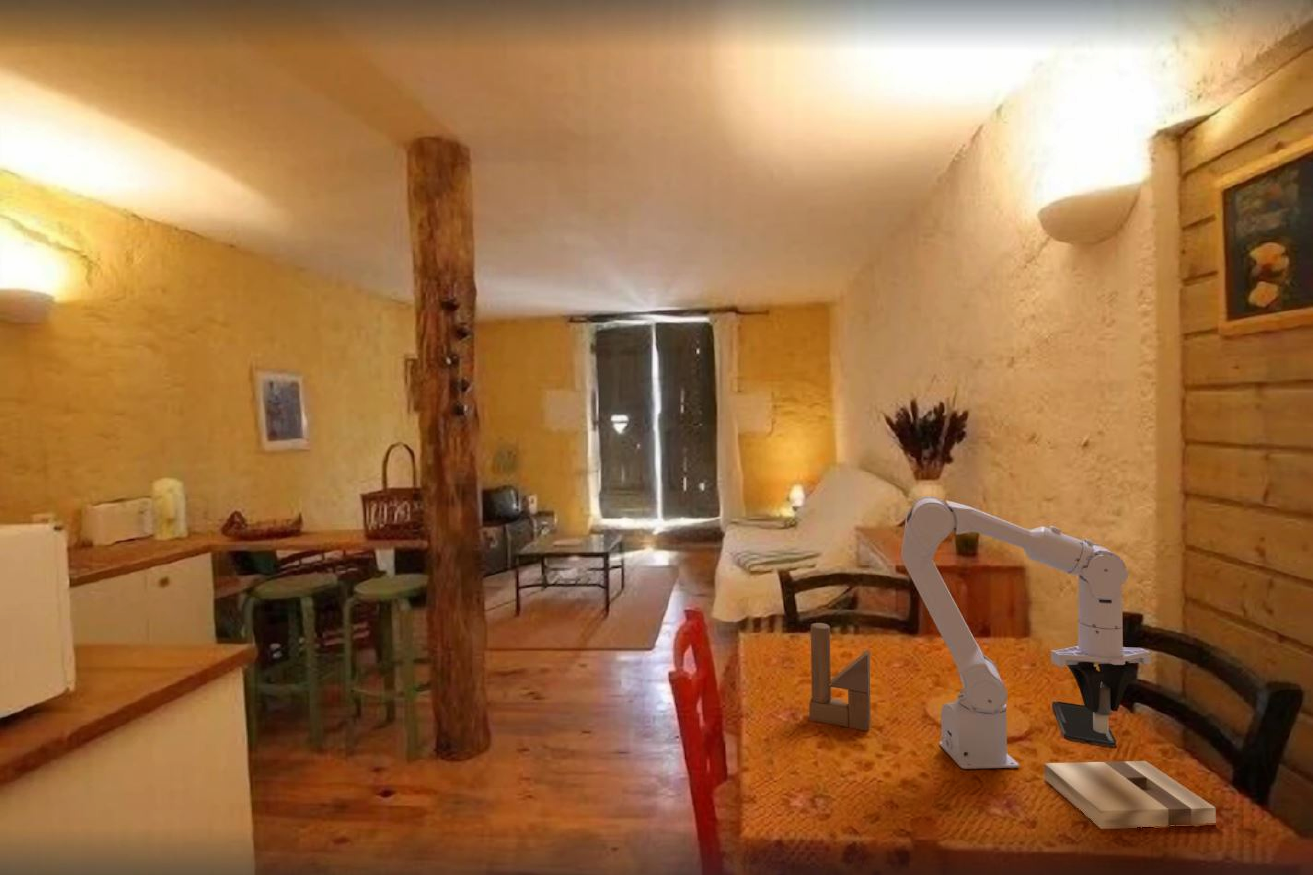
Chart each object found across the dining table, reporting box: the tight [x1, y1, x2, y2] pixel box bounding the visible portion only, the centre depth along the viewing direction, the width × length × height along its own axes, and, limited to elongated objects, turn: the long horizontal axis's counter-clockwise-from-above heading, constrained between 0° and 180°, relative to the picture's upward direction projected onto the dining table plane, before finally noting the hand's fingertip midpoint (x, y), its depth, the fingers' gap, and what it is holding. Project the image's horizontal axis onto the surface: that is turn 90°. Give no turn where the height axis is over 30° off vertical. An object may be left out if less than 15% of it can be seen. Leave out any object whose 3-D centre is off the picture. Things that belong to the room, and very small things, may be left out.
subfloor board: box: [1043, 760, 1217, 830], centre depth 90 cm, size 16×12×2 cm
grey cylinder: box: [1093, 683, 1112, 733], centre depth 97 cm, size 3×3×7 cm
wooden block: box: [808, 622, 872, 732], centre depth 116 cm, size 4×11×18 cm, turn 65°
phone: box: [1051, 700, 1117, 748], centre depth 114 cm, size 8×1×15 cm
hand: (1100, 708), depth 97 cm, fingers closed on grey cylinder, 3 cm apart
